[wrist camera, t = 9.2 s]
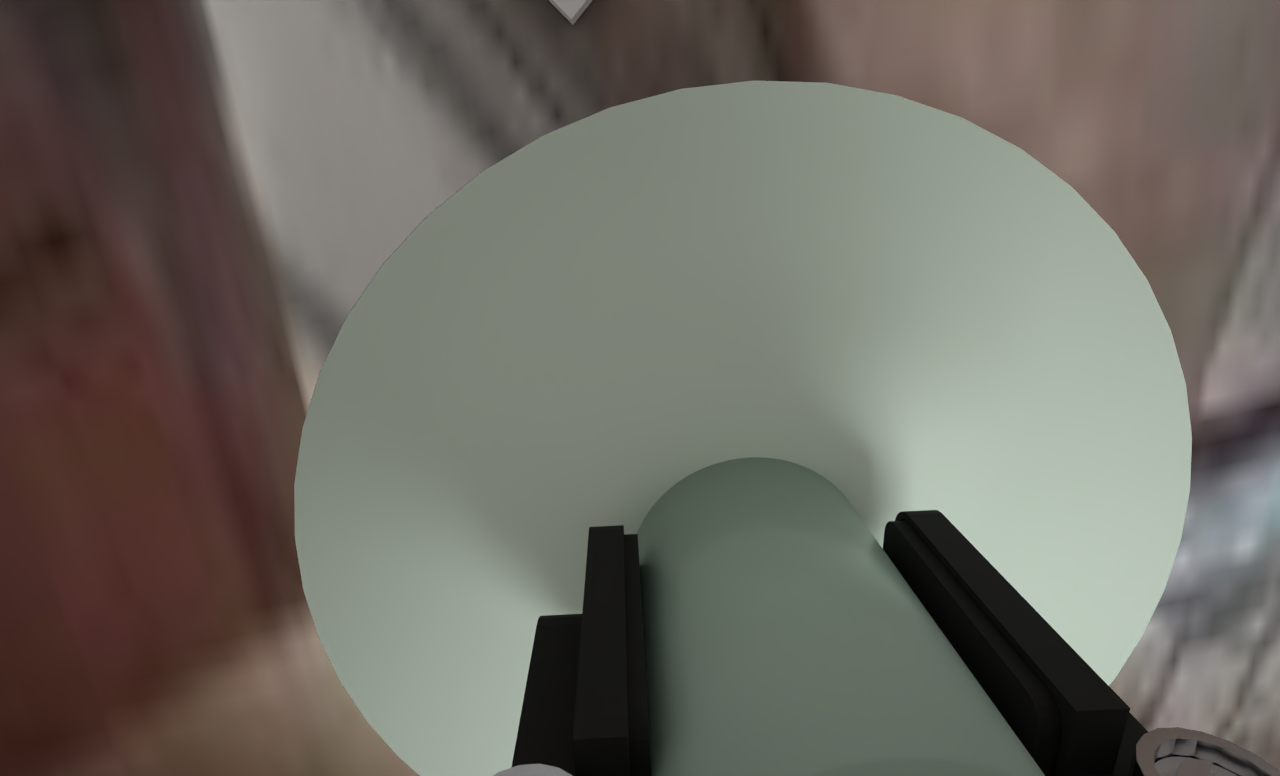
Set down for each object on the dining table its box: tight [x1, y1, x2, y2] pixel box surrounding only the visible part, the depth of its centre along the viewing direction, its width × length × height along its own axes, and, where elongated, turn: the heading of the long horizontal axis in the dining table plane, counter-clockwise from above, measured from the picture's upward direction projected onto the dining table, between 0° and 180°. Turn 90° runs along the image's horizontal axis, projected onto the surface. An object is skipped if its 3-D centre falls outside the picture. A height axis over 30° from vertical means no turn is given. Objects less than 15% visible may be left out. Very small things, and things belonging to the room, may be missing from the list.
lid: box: [294, 80, 1192, 776], centre depth 9 cm, size 15×15×6 cm
